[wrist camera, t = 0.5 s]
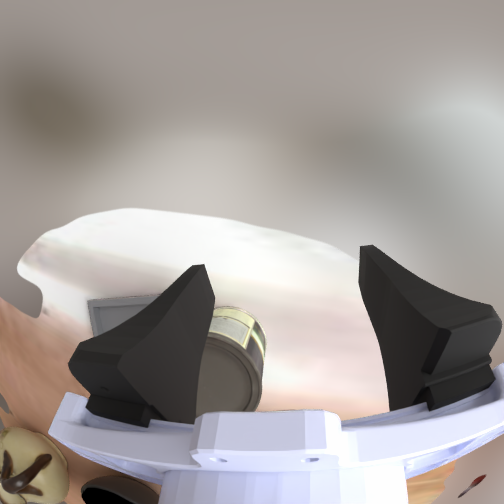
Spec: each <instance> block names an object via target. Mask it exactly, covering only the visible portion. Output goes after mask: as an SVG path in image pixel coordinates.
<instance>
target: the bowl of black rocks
mask: <svg viewBox="0 0 504 504" xmlns="http://www.w3.org/2000/svg"><path fill="white" fill-rule="evenodd" d="M81 494H82V495H81V497H82V499H83V501H84V502H85V503H86V504H158V502H159V497H160V496H159V495H157V494H156V493H155V492H154V491H153V490H151V489H150V488H148V487H147V486H145V485H143V484H141V483H139V482H137V481H135V480H132V479H128V478H124V477H118V476H105V477H99V478H96V479H93V480H91V481H89V482H87V483H86V484H85V485H83V486H82V489H81Z"/></svg>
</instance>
